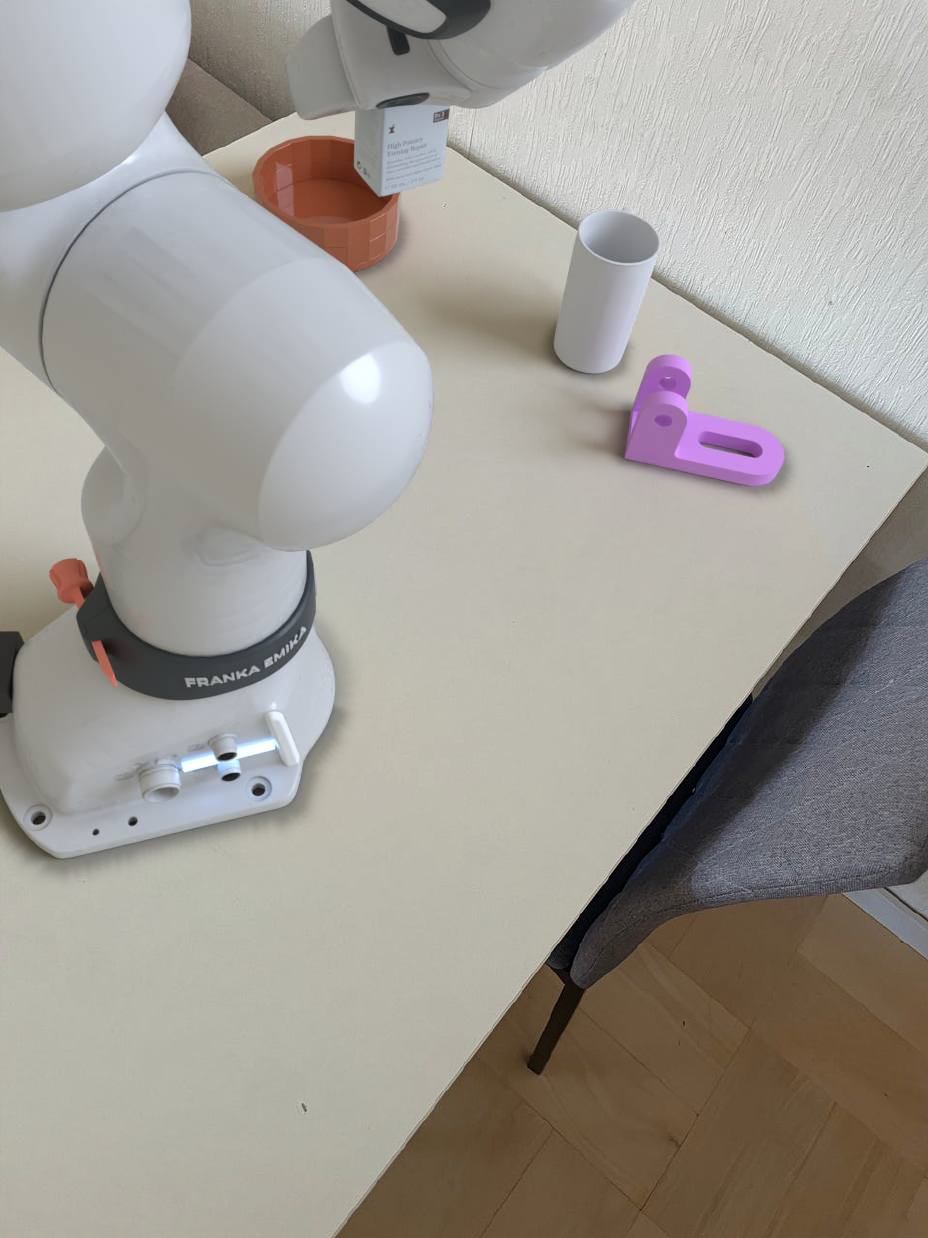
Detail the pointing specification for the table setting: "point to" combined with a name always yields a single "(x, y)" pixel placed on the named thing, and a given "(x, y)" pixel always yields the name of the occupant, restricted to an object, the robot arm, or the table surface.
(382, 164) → the cosmetic box
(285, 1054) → the table surface
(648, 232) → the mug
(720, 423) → the bracket
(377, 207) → the bowl
